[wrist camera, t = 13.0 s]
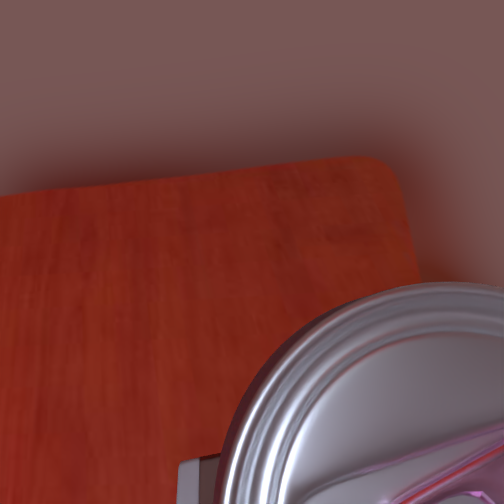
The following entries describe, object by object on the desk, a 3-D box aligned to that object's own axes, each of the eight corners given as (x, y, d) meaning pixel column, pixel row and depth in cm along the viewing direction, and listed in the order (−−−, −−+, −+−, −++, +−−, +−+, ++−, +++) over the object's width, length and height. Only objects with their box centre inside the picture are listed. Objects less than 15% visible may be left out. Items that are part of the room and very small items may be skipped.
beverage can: (424, 478, 17) (1025, 762, 3) (297, 548, 17) (397, 1244, 3) (351, 348, 19) (543, 191, 5) (236, 406, 19) (117, 398, 5)
